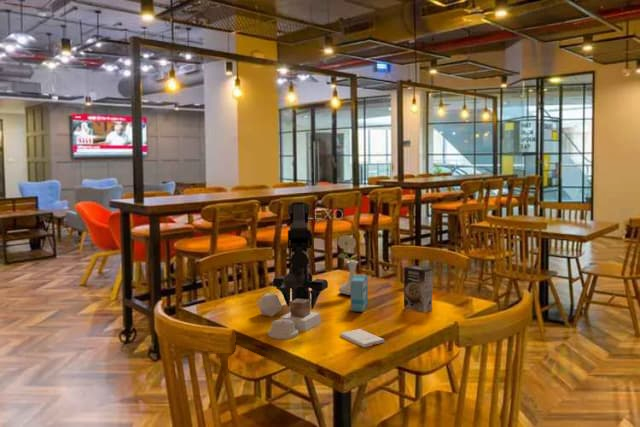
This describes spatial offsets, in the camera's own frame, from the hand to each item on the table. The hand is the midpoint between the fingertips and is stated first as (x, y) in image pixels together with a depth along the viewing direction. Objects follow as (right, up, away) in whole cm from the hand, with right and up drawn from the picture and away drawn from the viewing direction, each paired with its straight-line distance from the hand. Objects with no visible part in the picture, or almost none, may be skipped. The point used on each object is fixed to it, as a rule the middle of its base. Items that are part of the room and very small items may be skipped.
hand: (300, 307), depth 189 cm
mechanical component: (-5, -8, -9) cm, 13 cm away
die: (-12, -5, +13) cm, 19 cm away
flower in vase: (+20, -2, +43) cm, 47 cm away
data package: (+22, -4, +20) cm, 30 cm away
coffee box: (+44, -4, +18) cm, 48 cm away
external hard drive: (+20, -8, -15) cm, 26 cm away
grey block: (0, -7, +1) cm, 7 cm away
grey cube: (0, -3, 0) cm, 3 cm away
